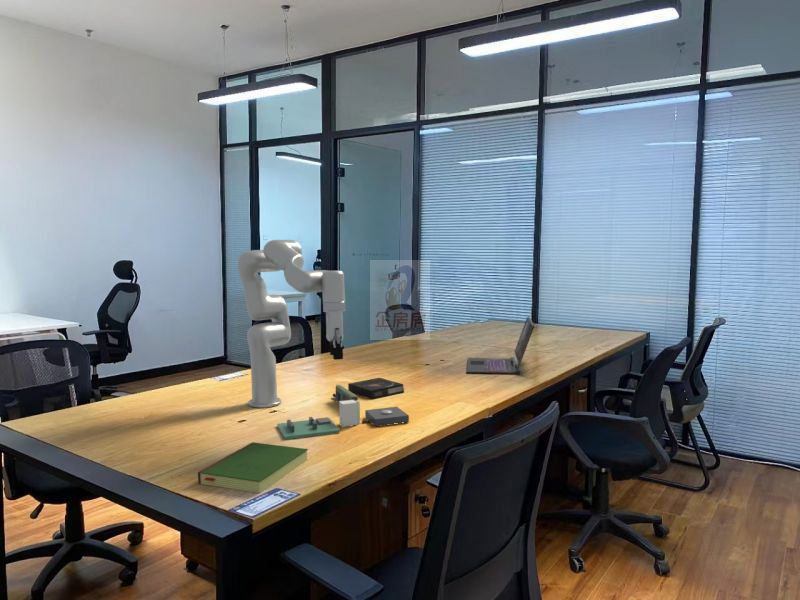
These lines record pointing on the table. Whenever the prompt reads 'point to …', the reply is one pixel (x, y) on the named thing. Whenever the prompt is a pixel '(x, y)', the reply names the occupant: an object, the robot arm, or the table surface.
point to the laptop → (503, 364)
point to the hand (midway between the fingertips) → (336, 357)
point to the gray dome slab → (386, 416)
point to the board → (307, 428)
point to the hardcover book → (253, 467)
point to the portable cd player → (376, 388)
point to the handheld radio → (343, 394)
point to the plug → (349, 412)
